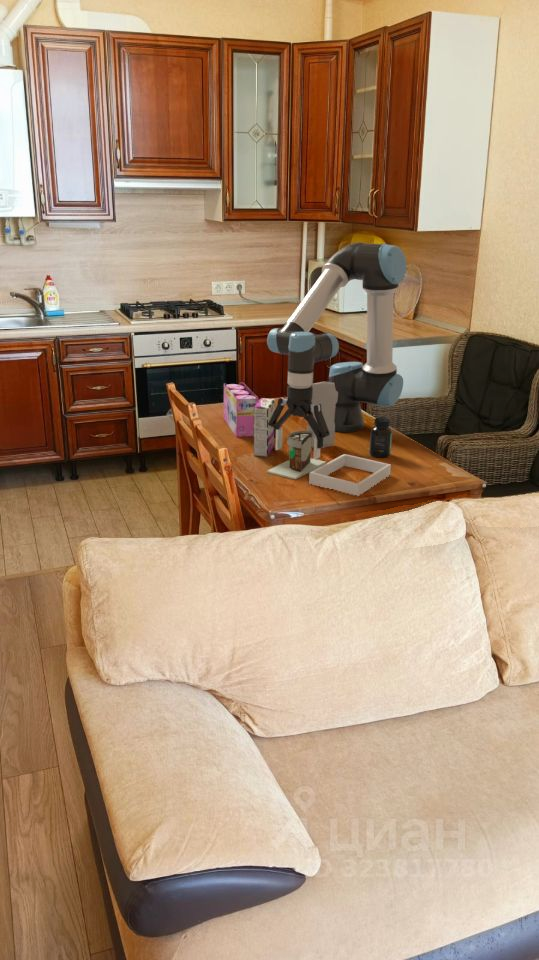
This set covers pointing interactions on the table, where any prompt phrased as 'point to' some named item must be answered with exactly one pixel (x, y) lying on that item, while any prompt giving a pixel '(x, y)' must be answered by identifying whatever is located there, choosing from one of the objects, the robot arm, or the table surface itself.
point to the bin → (322, 480)
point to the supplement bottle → (380, 438)
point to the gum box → (239, 409)
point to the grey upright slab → (325, 408)
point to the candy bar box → (263, 427)
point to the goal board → (289, 473)
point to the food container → (300, 449)
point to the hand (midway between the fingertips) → (297, 453)
